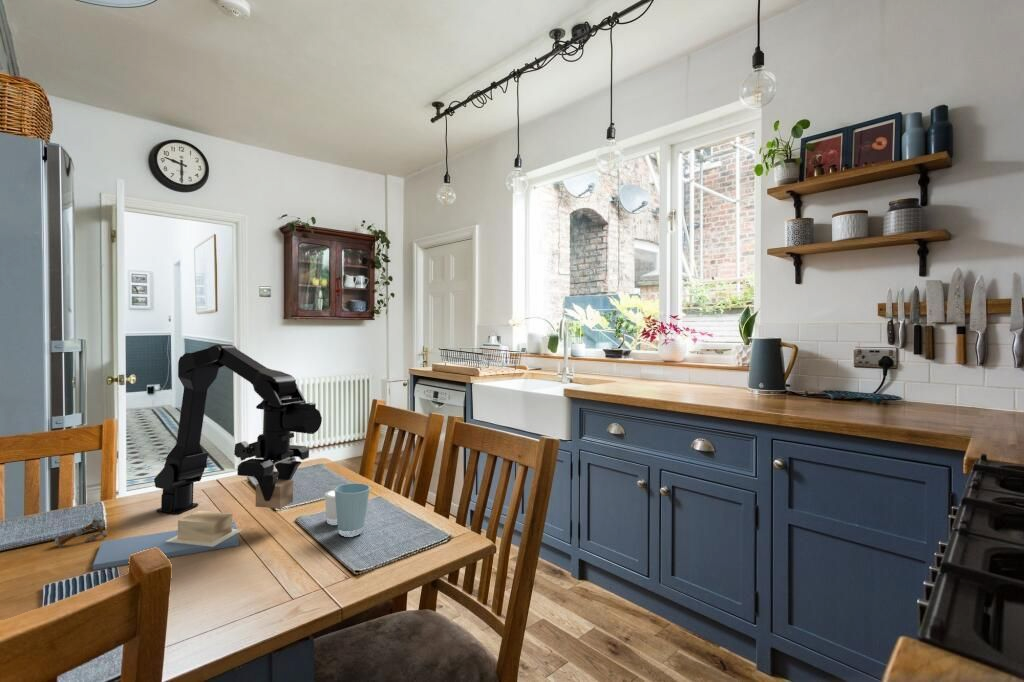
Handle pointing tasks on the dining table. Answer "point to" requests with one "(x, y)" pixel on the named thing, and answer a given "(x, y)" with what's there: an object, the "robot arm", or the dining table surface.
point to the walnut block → (276, 495)
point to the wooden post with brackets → (81, 531)
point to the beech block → (204, 526)
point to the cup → (351, 505)
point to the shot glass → (330, 504)
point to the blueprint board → (167, 542)
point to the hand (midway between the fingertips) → (274, 497)
